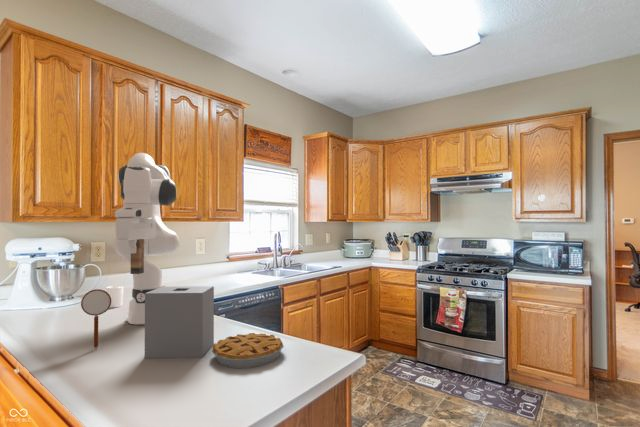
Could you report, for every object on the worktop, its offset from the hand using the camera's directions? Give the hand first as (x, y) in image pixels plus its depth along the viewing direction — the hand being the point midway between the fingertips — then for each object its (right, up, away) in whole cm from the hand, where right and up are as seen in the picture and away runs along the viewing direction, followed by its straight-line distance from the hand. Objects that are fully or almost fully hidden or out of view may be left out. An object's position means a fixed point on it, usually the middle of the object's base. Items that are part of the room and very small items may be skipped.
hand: (137, 252), depth 123 cm
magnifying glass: (-12, -32, -4) cm, 34 cm away
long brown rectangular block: (0, -7, 0) cm, 7 cm away
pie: (+40, -32, -11) cm, 52 cm away
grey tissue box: (+17, -32, -6) cm, 36 cm away
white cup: (-42, -34, +60) cm, 81 cm away
